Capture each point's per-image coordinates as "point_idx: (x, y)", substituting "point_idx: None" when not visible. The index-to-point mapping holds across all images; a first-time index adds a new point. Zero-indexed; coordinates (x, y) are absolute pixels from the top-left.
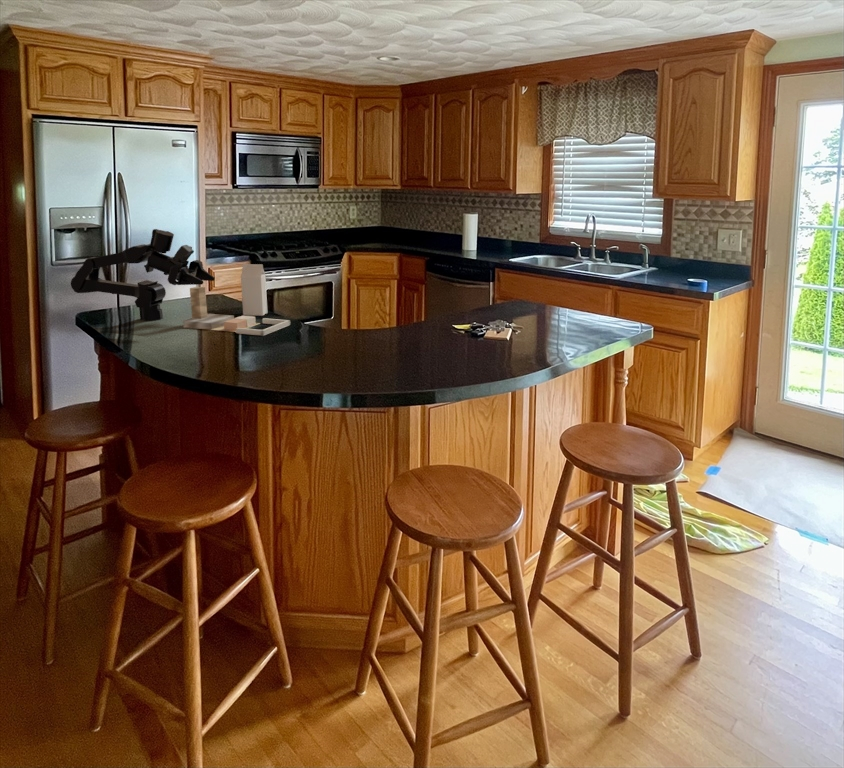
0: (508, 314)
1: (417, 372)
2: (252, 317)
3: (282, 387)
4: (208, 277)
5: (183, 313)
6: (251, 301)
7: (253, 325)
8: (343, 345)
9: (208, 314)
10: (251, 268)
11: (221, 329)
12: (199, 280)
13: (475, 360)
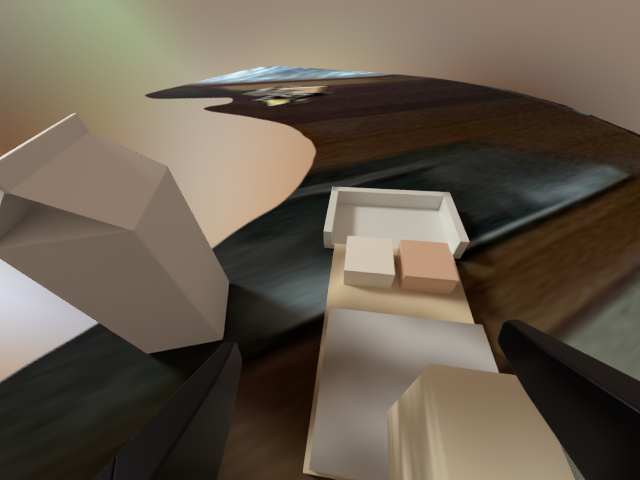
0: (215, 93)
1: (464, 97)
2: (360, 237)
3: (616, 133)
4: (214, 422)
5: None
6: (203, 275)
7: None
8: (407, 137)
9: (333, 440)
10: (66, 163)
11: (455, 302)
12: (556, 346)
13: (403, 88)
